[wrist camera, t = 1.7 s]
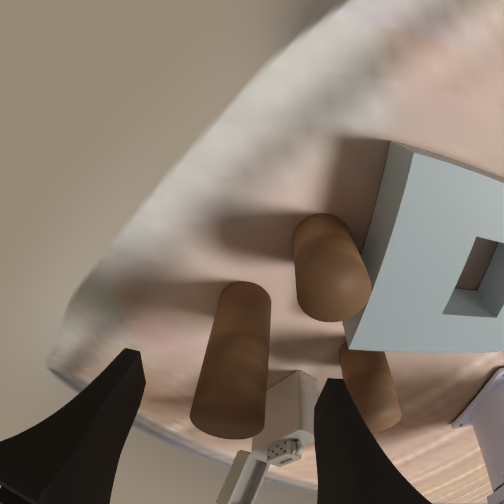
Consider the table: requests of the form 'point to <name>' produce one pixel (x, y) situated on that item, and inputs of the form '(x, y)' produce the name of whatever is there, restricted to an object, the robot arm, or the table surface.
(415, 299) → the socket block
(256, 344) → the tall dowel
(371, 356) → the medium dowel
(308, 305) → the short dowel
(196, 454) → the table surface
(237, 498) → the lighter
